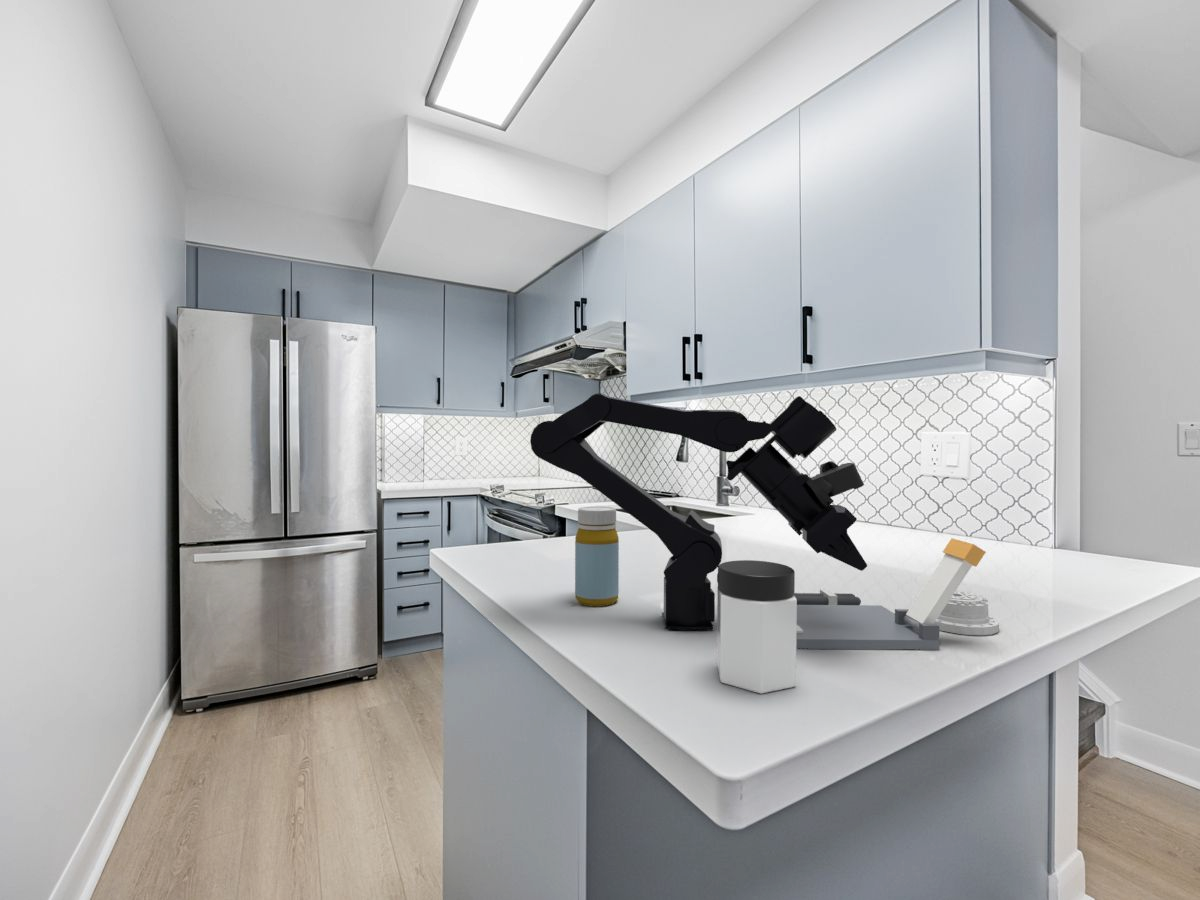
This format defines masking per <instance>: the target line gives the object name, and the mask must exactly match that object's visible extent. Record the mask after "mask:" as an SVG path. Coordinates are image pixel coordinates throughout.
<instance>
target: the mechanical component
mask: <svg viewBox="0 0 1200 900" xmlns="http://www.w3.org/2000/svg"><path fill="white" fill-rule="evenodd" d="M935 624H937V625H939V631H942V632H948V633H952V634H959V635H966V636H967V635H968V636H990V635H995V634H997V633H998V632H999V631H1000V621H999V620H998V619H997V618H995V617H994V616H991V615H989V599H988V598H986V597H985V596H983V595H979V594H976V593H971V592H969V591H963V590H962V591H961V590H956V591H955V593H954V594H953V596H952V597H951V599H950V600H949V602H948V603H947V605H946V606H945V608H944V609H943V611H942V612H941V614H940V615H939V617H938V618H937V620H936V621H935Z"/></svg>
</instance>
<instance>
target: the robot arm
mask: <svg viewBox="0 0 1200 900" xmlns="http://www.w3.org/2000/svg"><path fill="white" fill-rule="evenodd" d="M606 423H613V424H620V425H624V426H629V427H630V426H631V427H634V428H640V429H646V430H651V431H656V432H662V433H666V434H672V435H675V436H676V435H677V436H681V437H684V438H687V439H688V440H691V441H694V442H696V443H699V444H703V445H704V446H708V447H709V448H710V447H711V448H713V449H715V450H718V451H720V452H723V453H736V452H738V451H740V450H741V449H743V448H745V447H746V445H747V444H748V442H751V441H757V440H764V439H765V438H767V436H769V435H770V434H772V436H771V437H770V438H769V439H767V441H766V442H764V444H762V445H761V446H760V447H759V448H758V449H757V450H754V448H752V447H751V446H749V447H748V448H747V449H746V450H744V452H742V453H741V455H739V456H738V457H737V458H736V459H735V460H726V462H725V463H726V466H727V474H726V476H727V477H726V479H727V480H728V481H733V480H734V479H735V478H736V477H738V475H739V474H741V475H742V476H743V477H744V478H745V479H746V480H747V482H749V484H750V485H752V486H753V488H755V489H756V491H757V492H759V493H760V494H761V496H763V498H764V499H765V500H766V501H767V502H768V503H769V504H770V506H772V507H773V508H774V509H775V510H776V511H778V513H779V514H780V515H781V516H782V517H783V518H784V519H785V520H786V521H787V522H788V524H787V525H788V526H789V527H790V528H791V529H792V530H793V531H794V532H795V533H796V534H797V535H798V536H799V537H800V536H801V535H802V537H801V539H803V541H804V542H806V544H807V545H808V546H810V548H811V549H812V550H813V551H814V552H815V553H816V554H819V553H822V554H825V555H826V556H829V557H830V558H833V559H835V560H837V561H839V562H842V563H844V564H846V565H848V566H850V567H853V568H854V569H857V570H859V571H861V572H862V571H864V570H865V569H866V568H867V567H868V564H867V563H866V561H865V559H864V558H863V556H862V554H861V553H860V551H859V550H858V548H857V546H856V545H855V543H854V542H853V540H852V539H851V537H850V535H849V533H848V529H850V527H852V525H854V524H855V523H856V522H857V519H858V518H857V517H856V516H855V515H854V514H853V513H852V511H850V510H849V509H848V508H847V507H845V506H842V505H840V504H833V503H834V500H833V499H832V497H836V496H837V495H841V494H843V493H846V492H848V491H851V490H858V489H860V488H862V487H864V486H865V484H864V482H863V478H862V477H861V475H860V473H859V470H858V468H857V466H856V465H855V463H854V462H846V463H842V464H840V465H838V464H837V463H835V462H834V461H831V460H830V461H829V460H828V461H827V462H824V463H822V464H820V465H819V473H817V474H816V475H814V476H812V477H810V476H809V475H808V474H807V473H802V472H800V471H799V470H798V469H797V468H796V467H795V466H794V465H793V464H792V463H790V461H789V460H788V459H787V458H786V457H785V456H784V455H783V454H782V453H780V452H779V450H778V449H777V448H776V447H774V446H773V443H774V442H775V443H776V445H778V447H779V448H781V450H782V451H783V452H785V454H787V455H788V456H789V457H790V458H791V459H795V458H796V457H797V456H798V457H801V458H803V459H806V458H807V457H808V456H810V455H811V454H812V453H813V452H814V451H815V450H817V448H819V447H820V446H821V444H823V443H824V442H826V441H827V440H828V438H830V437H831V436H832V435H833V434H834V433H835V432H837V427H836V425H835V424H834V423H833V422H832V420H831V419H830V418H829V417H828V416H827V415H826V413H824V412H823V411H822V410H819V409H817V408H816V407H815V406H813V405H812V404H811V403H810V402H807V401H806V400H805V399H804V398H803V397H801V396H800V395H798V396H796V397H795V398H794V399H793V400H792V401H791V402H790V403H789V404H788V406H787V407H786V408H785V409H784V410H783V411H782V412H781V413H780V414H779V415H778V416H777V417H776V418H775V419H774V420H773V421H771V422H770V423H768V422H766V420H763V421H756V420H755V421H754V420H748V419H747V417H746V415H744V414H743V413H742V412H740V411H737V410H733V409H697V410H696V409H695V410H694V409H693V410H692V409H688V410H687V409H680V408H673V407H668V406H664V405H663V406H662V405H657V404H651V403H646V402H641V401H636V400H629V399H625V398H624V399H623V398H618V397H612V396H609V395H606V394H604V393H595V394H592V395H590V397H589V398H587V399H586V400H585V401H584V402H582V403H580V404H578V405H577V406H575V407H573V408H571V409H569V410H568V411H566V412H564V413H563V414H561V415H559V416H558V417H556V418H555V419H554V420H545V421H542V422H540V423H538V424H537V425H536V426H535V427H534V428H533V430H532V432H531V435H530V441H529V442H530V448H531V451H532V453H533V454H534V456H536V457H537V458H539V459H540V460H543V461H545V462H547V463H548V464H550V465H552V466H555V467H557V468H558V469H561V470H563V471H566V472H568V473H571V474H573V475H575V476H578V477H580V478H581V479H583V480H584V481H585V482H586V483H588V484H589V485H590V486H592V487H593V488H594V489H595V490H597V491H598V492H599V493H601V494H602V495H604V497H606V498H607V499H609V500H610V501H611V502H613V503H614V504H616V505H617V506H618V507H620V508H621V509H623V511H625V512H626V513H627V514H629V515H630V516H631V517H633V518H634V519H636V520H637V521H638V522H640V523H641V524H642V525H644V526H645V527H646V528H647V529H649V530H650V531H651V532H653V533H654V534H655V535H656V536H658V537H657V538H659V539H660V541H661V542H662V543H663V545H664V546H665V548H666V549H667V551H669V552H670V554H671V557H669V558H668V561H667V563H666V565H665V568H664V570H663V575H664V577H663V612H661V617H662V621H663V624H664V627H665V629H666V630H675V631H676V630H683V631H684V630H687V631H691V630H692V631H695V630H696V631H697V630H698V631H699V630H700V631H701V630H702V631H707V630H708V631H712V630H714V624H713V623H714V622H715V618H716V615H715V614H716V613H715V612H716V608H715V603H716V601H715V597H716V596H715V595H716V594H715V592H714V590H713V589H712V587H711V585H712V582H711V580H710V579H709V578H708V575H709V574H710V573H713V572H714V571H715V570H717V569H718V566H719V565H720V564H721V562H722V558H723V546H722V540H721V537H720V535H719V534H718V533H717V532H716V531H715V524H712V523H708V522H707V521H705V520H704V519H703V518H701V516H699V514H697V513H696V511H694V509H691V510H690V512H689V513H688V515H687V516H685V515H682V514H681V513H678V512H676V511H673V510H672V509H670V507H668V506H666V505H665V504H664V503H663V502H661V501H660V500H659V499H657V498H656V497H654V496H653V495H652V494H650V493H649V492H648V491H646V490H645V489H643V488H642V487H641V486H640V485H638V484H637V483H635V482H634V481H633V480H632V479H630V478H628V476H626V475H625V474H623V473H622V472H621V471H619V470H618V469H617V468H615V466H613V465H611V464H609V462H607V461H606V460H604V459H603V458H601V457H600V456H599V455H598V454H597V453H596V451H595V449H593V447H592V446H591V445H590V444H589V442H588V441H587V440H586V439H587V438H589V437H590V436H591V435H592V434H593V433H595V431H597V430H598V429H600V427H601V426H603V425H604V424H606Z"/></svg>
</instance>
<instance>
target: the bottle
mask: <svg viewBox="0 0 1200 900" xmlns="http://www.w3.org/2000/svg"><path fill="white" fill-rule="evenodd" d="M577 522H578V523H577V527H578V528H577V529H578V530H577V532H576V534H575V537H574V538H575V542H574V543H575V544H574V547H575V548H574V550H575V551H574V553H575V554H574V555H575V556H574V568H575V569H574V573H575V574H574V580H575V582H574V589H575V590H574V593H575V595H574V596H575V600H576V601H577V602H578V603H579V604H580V603H581V605H583V606H586V607H607V606H611V605H613V603H614V604H615V603H616V602H617V600H618V599H619V590H620V589H619V583H620V581H619V577H620V576H619V575H620V574H619V573H620V569H619V567H620V566H619V559H620V557H619V554H620V552H619V550H620V548H619V547H620V545H619V543H620V541H619V540H620V539H619V534H618V532H617V529H616V528H617V523H616V522H617V508H616V507H611V506H582V507H578V509H577Z"/></svg>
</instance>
